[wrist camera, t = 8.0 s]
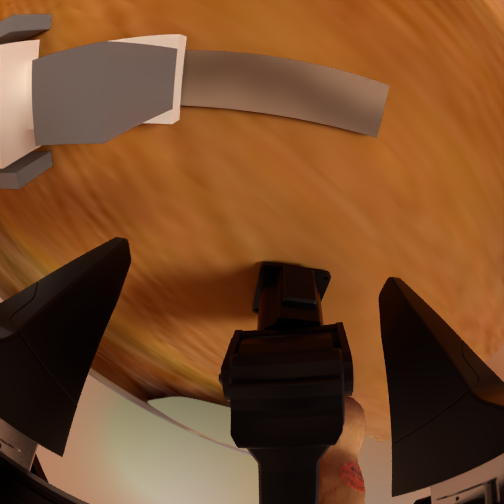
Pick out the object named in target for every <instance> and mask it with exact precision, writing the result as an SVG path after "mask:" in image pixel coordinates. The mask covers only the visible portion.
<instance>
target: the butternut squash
mask: <svg viewBox="0 0 504 504" xmlns="http://www.w3.org/2000/svg"><path fill="white" fill-rule="evenodd" d="M364 435H365V416H364V410H363V408H362V407H361V405H360V404H359V403H358V402H357V401H355V400H354V399H353V398H351V397H348V396H347V397H345V421H344V425H343V432H342V434H341V436H340V438H339V440H338V441H337V443H336V444H335V445H333V446H330V447H329V449H328V450H327V452H326V453H325V455H324V456H323V457H322V459H321V460H320V464H319V499H318V504H365V487H364V480H363V477H362V474H361V470H360V467H359V465H358V454H359V450H360V448H361V445H362V442H363V438H364Z"/></svg>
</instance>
